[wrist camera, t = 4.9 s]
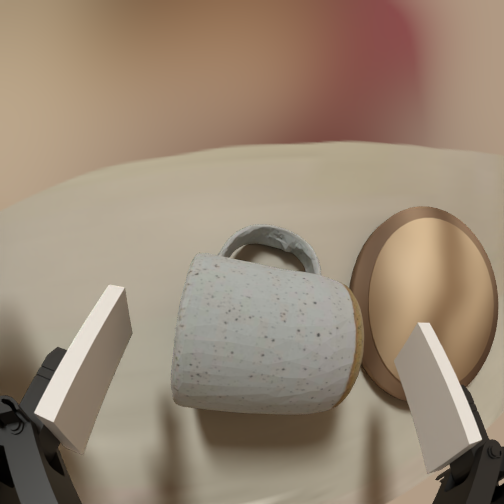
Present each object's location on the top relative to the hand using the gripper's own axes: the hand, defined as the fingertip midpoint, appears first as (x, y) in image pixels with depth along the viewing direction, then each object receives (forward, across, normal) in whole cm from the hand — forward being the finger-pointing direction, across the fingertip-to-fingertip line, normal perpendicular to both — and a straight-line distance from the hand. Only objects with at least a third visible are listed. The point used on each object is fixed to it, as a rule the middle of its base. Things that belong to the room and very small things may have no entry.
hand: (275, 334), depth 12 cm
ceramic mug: (+5, 0, -4) cm, 6 cm away
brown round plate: (+6, +13, -2) cm, 14 cm away
